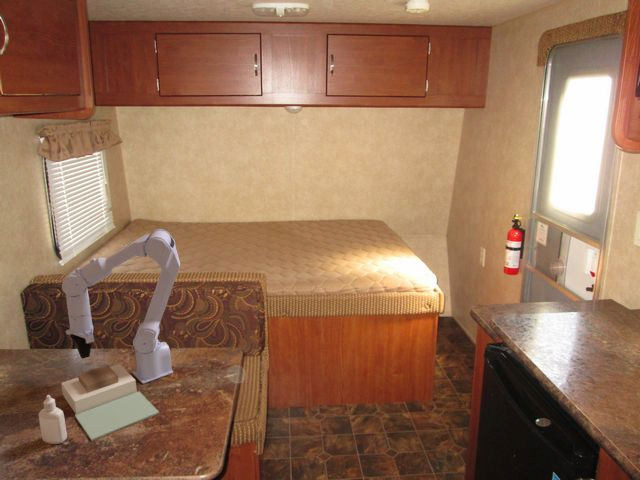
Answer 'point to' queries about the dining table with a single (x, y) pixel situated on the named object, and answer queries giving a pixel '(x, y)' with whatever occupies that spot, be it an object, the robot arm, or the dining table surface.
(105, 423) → the mat
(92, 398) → the cream flat block
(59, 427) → the eye dropper bottle
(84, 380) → the walnut tile
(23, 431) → the dining table surface
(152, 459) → the dining table surface
